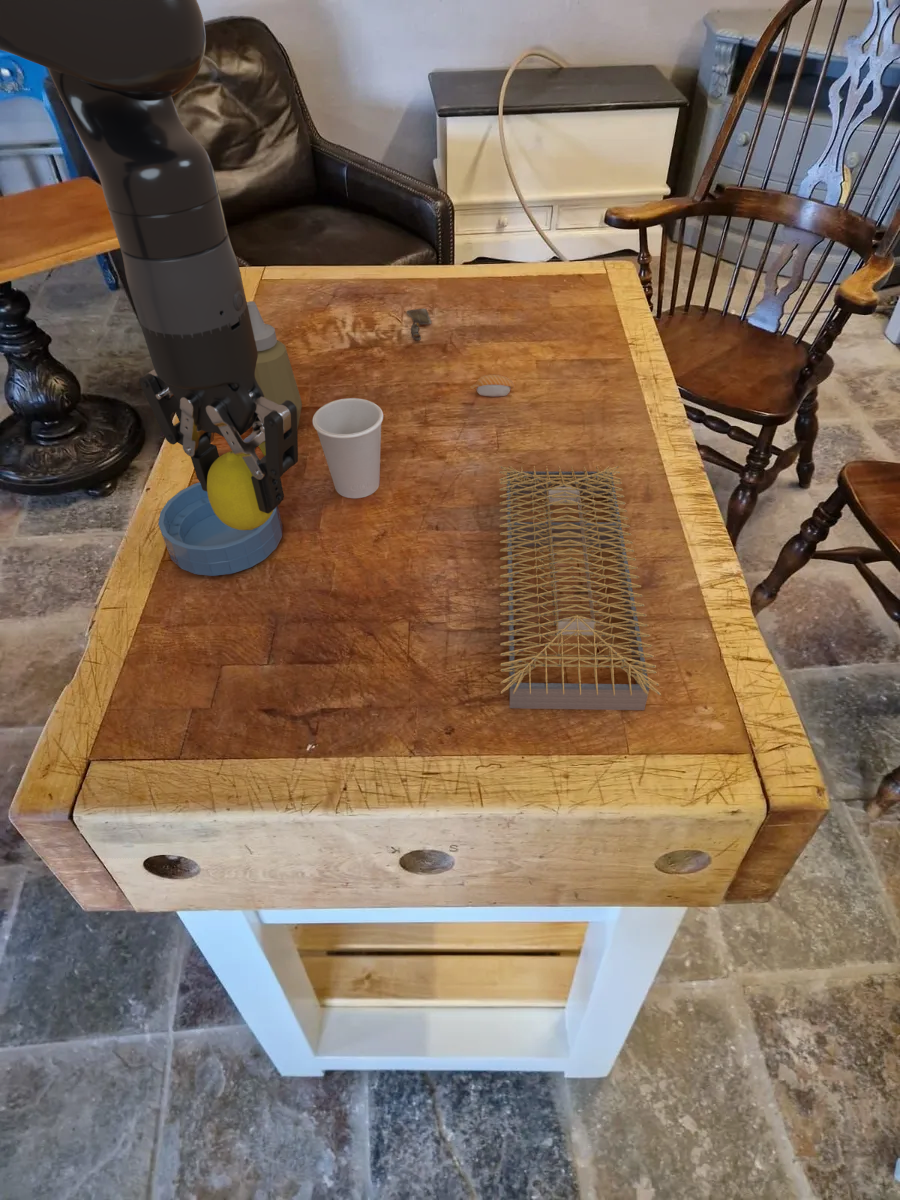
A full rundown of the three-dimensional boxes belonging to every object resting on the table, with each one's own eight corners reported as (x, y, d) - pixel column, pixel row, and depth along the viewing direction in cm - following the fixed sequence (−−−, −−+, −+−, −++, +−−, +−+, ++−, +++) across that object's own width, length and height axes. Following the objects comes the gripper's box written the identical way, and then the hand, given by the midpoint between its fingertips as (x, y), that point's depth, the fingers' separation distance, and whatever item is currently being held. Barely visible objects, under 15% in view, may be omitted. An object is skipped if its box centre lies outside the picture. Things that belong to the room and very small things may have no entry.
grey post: (437, 311, 135) (408, 311, 136) (437, 304, 134) (408, 304, 135) (424, 342, 127) (394, 341, 127) (424, 335, 126) (393, 334, 127)
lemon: (295, 518, 71) (278, 442, 66) (258, 556, 68) (238, 479, 62) (244, 502, 73) (224, 427, 67) (206, 538, 70) (182, 462, 64)
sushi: (514, 398, 115) (515, 379, 112) (469, 398, 115) (469, 379, 113) (514, 389, 116) (514, 370, 114) (470, 389, 117) (470, 370, 115)
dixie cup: (320, 471, 103) (307, 403, 96) (383, 460, 105) (376, 392, 98) (329, 510, 98) (317, 441, 90) (396, 498, 99) (389, 429, 92)
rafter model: (499, 488, 100) (499, 447, 95) (615, 489, 99) (621, 447, 95) (500, 715, 75) (501, 673, 71) (655, 718, 74) (666, 675, 70)
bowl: (236, 593, 88) (226, 563, 84) (145, 558, 92) (133, 528, 89) (305, 524, 96) (299, 494, 93) (219, 495, 100) (210, 465, 97)
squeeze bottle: (318, 427, 111) (296, 301, 98) (271, 452, 107) (243, 324, 94) (282, 407, 115) (257, 283, 102) (236, 430, 111) (204, 305, 98)
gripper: (78, 307, 56) (149, 498, 68) (237, 350, 51) (283, 548, 63) (154, 267, 61) (207, 452, 73) (306, 303, 56) (337, 496, 68)
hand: (242, 496), depth 68 cm, fingers closed on lemon, 5 cm apart
